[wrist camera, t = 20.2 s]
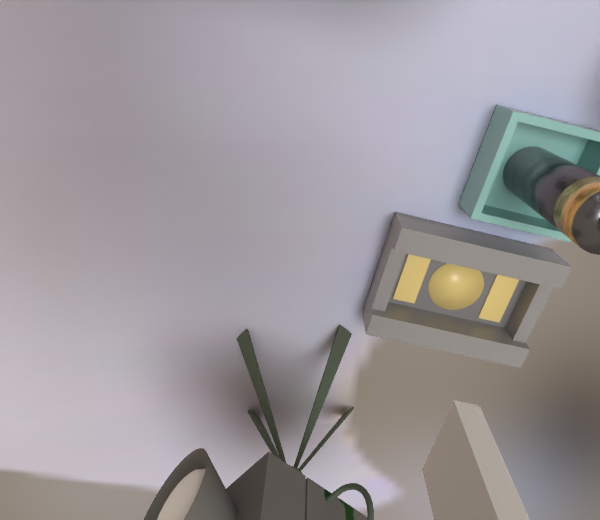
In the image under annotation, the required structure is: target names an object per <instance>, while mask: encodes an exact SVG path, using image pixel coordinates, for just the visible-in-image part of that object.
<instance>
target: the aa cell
mask: <svg viewBox="0 0 600 520" xmlns="http://www.w3.org/2000/svg"><path fill="white" fill-rule="evenodd" d="M503 181H504V184H505V186H506V187H507V189H508V190H509V191H510V192H512V193H513V194H514V195H515V196H517V197H518V198H519V199H520V200H522V201H523V202H524V203H526V204H527V205H528V206H529V207H531V208H532V209H533V210H534V211H536V212H537V213H538V214H539V215H541V216H542V217H543V218H544V219H546V220H547V221H548V222H550V223H551V224H552V225H553V226H555V227H556V228H557V229H558V230H560V231H561V232H562V233H563V234H564V235H565V236H567V237H568V238H569V239H570V240H572V241H573V242H574V243H576V244H577V245H578V246H579V247H581V248H582V249H584V250H585V251H587V252H590V253H593V254H600V176H599V175H597V174H595V173H593V172H591V171H589V170H587V169H585V168H582V167H580V166H578V165H576V164H574V163H572V162H570V161H568V160H566V159H564V158H562V157H560V156H558V155H556V154H554V153H551V152H549V151H547V150H545V149H543V148H541V147H536V146H531V147H525V148H522V149H520V150H518V151H517V152H515V153H514V154H513V155H512V156H511V157H510V158H509V159H508V161H507V162H506V164H505V166H504V169H503Z"/></svg>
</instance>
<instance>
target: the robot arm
mask: <svg viewBox="0 0 600 520" xmlns="http://www.w3.org/2000/svg"><path fill="white" fill-rule="evenodd" d="M422 471H423V474H424V478H425V483H426V487H427V491H428V495H429V500H430V504H431V508H432V512H433V516H434V520H529V518H528V515H527V513H526V511H525V508H524V506H523V504H522V502H521V500H520V497H519V495H518V492H517V490H516V488H515V486H514V484H513V481H512V479H511V477H510V474H509V472H508V470H507V467H506V465H505V464H504V461H503V458H502V457H501V454H500V452H499V449H498V447H497V445H496V442H495V440H494V438H493V435H492V433H491V431H490V429H489V427H488V424H487V422H486V420H485V417H484V415H483V413H482V410H481V408H480V406H478V405H473V404H468V403H463V402H459V401H453V404H452V406H451V408H450V410H449V412H448V414H447V416H446V419H445V421H444V423H443V425H442V428H441V430H440V432H439V434H438V436H437V438H436V441H435V443H434V445H433V447H432V449H431V452H430V454H429V456H428V458H427V460H426V462H425V465H424V467H423V469H422Z"/></svg>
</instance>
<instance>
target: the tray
mask: <svg viewBox="0 0 600 520" xmlns="http://www.w3.org/2000/svg"><path fill="white" fill-rule="evenodd" d="M531 146H536V147H541V148H543V149H545V150H547V151H549V152H551V153H554V154H556V155H558V156H560V157H562V158H564V159H566V160H568V161H570V162H572V163H574V164H576V165H578V166H580V167H582V168H585V169H587V170H589V171H591V172H593V173H595V174H597V175H599V176H600V131H598V130H595V129H591V128H587V127H583V126H579V125H575V124H571V123H567V122H563V121H559V120H555V119H551V118H547V117H543V116H539V115H535V114H531V113H527V112H523V111H519V110H515V109H511V108H507V107H503V106H499V105H496V108H495V110H494V113H493V115H492V118H491V121H490V123H489V126H488V129H487V131H486V134H485V136H484V139H483V142H482V144H481V147H480V149H479V152H478V155H477V157H476V160H475V163H474V165H473V168H472V170H471V173H470V176H469V178H468V181H467V184H466V186H465V189H464V191H463V194H462V197H461V199H460V202H459V205H460V207H461V208H462V209H463V210H464V211H465V213H466V214H467V215H468V216H469V217H470V218H471V219H474V220H479V221H483V222H487V223H491V224H496V225H500V226H504V227H508V228H513V229H517V230H521V231H525V232H529V233H534V234H538V235H542V236H546V237H551V238H555V239H559V240H563V241H568V242H571V241H572V240H570V239H569V238H568V237H567V236H565V235H564V234H563V233H562V232H561V231H560V230H558V229H557V228H556V227H555V226H553V225H552V224H551V223H550V222H548V221H547V220H546V219H544V218H543V217H542V216H541V215H539V214H538V213H537V212H536V211H534V210H533V209H532V208H531V207H529V206H528V205H527V204H526V203H524V202H523V201H522V200H520V199H519V198H518V197H517V196H515V195H514V194H513V193H512V192H510V191H509V190H508V189H507V187H506V186H505V184H504V181H503V169H504V166H505V164H506V162H507V161H508V159H509V158H510V157H511V156H512V155H513V154H514V153H515V152H517V151H518V150H520V149H522V148H525V147H531Z"/></svg>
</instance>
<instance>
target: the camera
mask: <svg viewBox="0 0 600 520" xmlns="http://www.w3.org/2000/svg"><path fill="white" fill-rule="evenodd" d="M350 337H351V333H350V332H349V331H347V330H346V329H345V328H343V327H342V326H341V325H339V327H338V330H337V333H336V336H335V340H334V343H333V346H332V349H331V352H330V355H329V358H328V361H327V365H326V368H325V371H324V374H323V377H322V380H321V383H320V386H319V389H318V393H317V396H316V399H315V402H314V405H313V408H312V411H311V414H310V418H309V421H308V424H307V427H306V430H305V433H304V436H303V439H302V443H301V446H300V449H299V452H298V455H297V458H296V461H295V464H294V467H293V466H290V465H288V464H287V463H286V461H285V457H284V454H283V450H282V447H281V443H280V440H279V436H278V433H277V429H276V426H275V422H274V419H273V415H272V412H271V408H270V405H269V401H268V398H267V395H266V391H265V388H264V384H263V381H262V377H261V374H260V370H259V367H258V363H257V360H256V356H255V353H254V349H253V346H252V342H251V339H250V335H249V332H248V330H247V329H246V330H245V331H244V332H243V333H242V334H241V335H240V336H239V337H238V338H237V341H238V343H239V346H240V349H241V352H242V354H243V357H244V360H245V363H246V365H247V368H248V371H249V374H250V377H251V379H252V382H253V385H254V388H255V390H256V393H257V396H258V399H259V401H260V404H261V407H262V410H263V412H264V415H265V418H266V421H267V423H268V426H269V429H270V432H271V434H272V437H273V440H274V443H275V446H276V448H277V451H278V453H277V451H276V449H275V447H274V445H273V443H272V441H271V439H270V437H269V435H268V433H267V431H266V429H265V427H264V425H263V423H262V421H261V419H260V417H258V416H257V415H255V414H254V413H253V412H251V411H250V410H249V411H248V413H249V415H250V417H251V418H252V420H253V422H254V424H255V425H256V427H257V429H258V430H259V432H260V434H261V436H262V437H263V439H264V441H265V442H266V444H267V446H268V448H269V449H270V451H271V453H270V452H268V453H267V454H266V455H264V456H263V457H262V458H261V459H260V460H259V461H258V462H256V463H255V464H254V465H253V466H252V467H251V468H249V469H248V470H247V471H246V472H245V473H244V474H243V475H241V476H240V477H239V478H238V479H237V480H236V481H235V482H233V483H232V484H231V485H230V486H229V487H228V488H227V489H225V487H224V485H223V483H222V481H221V479H220V477H219V475H218V473H217V471H216V470H215V468H214V466H213V464H212V462H211V460H210V458H209V456H208V454H207V452H206V451H205V450H204V449H201V448H200V449H197V450H195V451H193V452H192V453H190V454H189V455H188V456H187V457H185V458H184V459H183V460H182V462H181V463H180V464H179V465H178V466H177V467H176V468H175V470H174V471H173V472H172V473H171V475H170V476H169V477H168V479H167V480H166V481H165V483H164V484H163V486H162V487H161V489H160V490H159V492H158V494H157V495H156V497H155V499H154V501H153V502H152V504H151V506H150V508H149V510H148V512H147V514H146V516H145V518H144V520H374V510H373V503H372V500H371V497H370V495H369V493H368V492H367V490H366V489H365V488H364V487H363V486H361V485H359V484H356V483H350V484H346V485H343V486H341V487H340V488H338V489H337V490H336V491H334V492H333V493H330V492H329V491H327V490H326V489H324V488H323V487H321V486H320V485H318V484H317V483H315V482H314V481H312V480H311V479H309V478H307V479H306V480H305V475H303V474H302V472H301V470H302V469H303V468H304V467H305V466H306V464H307V463H308V462H309V461H310V460H311V459H312V457H313V456H314V455H315V454H316V453H317V451H318V450H319V449H320V448H321V447H322V446H323V444H324V443H325V442H326V441H327V440H328V438H329V437H330V436H331V435H332V434H333V433H334V431H335V430H336V429H337V428H338V427H339V425H340V424H341V423H342V422H343V421H344V420H345V418H346V417H347V416H348V415H349V414H350V412H351V411H352V410H353V409H354V407H352V408H351V409H349V410H348V411H347V412H346V413H345V414H343V415H342V417H341V418H340V419H339V420H338V422H337V423H336V424H335V425H334V426H333V428H332V429H331V430H330V431H329V432H328V434H327V435H326V436H325V437H324V439H323V440H322V441H321V442H320V443H319V445H318V446H317V447H316V448H315V449H314V451H313V452H312V453H311V454H310V456H309V457H308V458H307V459H306V460H305V462H304V463H303V464H302V465H301V466H300V468H299V469H298V468H297V467H298V465H299V462H300V460H301V457H302V455H303V452H304V450H305V447H306V445H307V443H308V440H309V438H310V435H311V433H312V430H313V428H314V425H315V423H316V420H317V418H318V416H319V413H320V411H321V408H322V406H323V403H324V401H325V398H326V396H327V393H328V391H329V388H330V386H331V384H332V381H333V379H334V376H335V374H336V371H337V369H338V366H339V364H340V361H341V359H342V357H343V354H344V352H345V349H346V347H347V344H348V342H349V339H350ZM278 454H279V455H278ZM352 489H353V490H357V491H359V492H361V494H362V495H363V496H364V498H365V500H366V504H367V512H368V517H366V516H365V515H363V514H362V513H360V512H359V511H357V510H356V509H354V508H353V507H351V506H350V505H348V504H347V503H345V502H344V501H342V500H341V499H339V498H338V497H337V496H339V495H340V494H341V493H343V492H345V491H347V490H352Z"/></svg>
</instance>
